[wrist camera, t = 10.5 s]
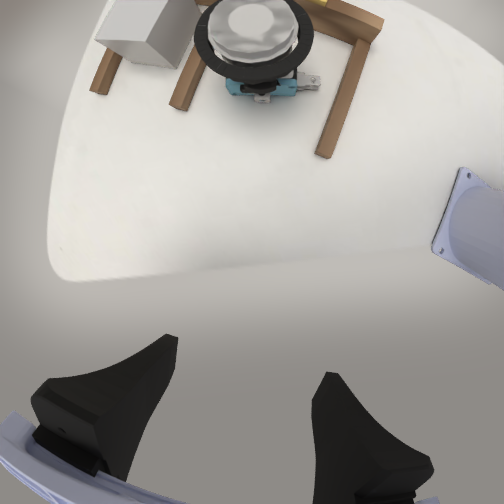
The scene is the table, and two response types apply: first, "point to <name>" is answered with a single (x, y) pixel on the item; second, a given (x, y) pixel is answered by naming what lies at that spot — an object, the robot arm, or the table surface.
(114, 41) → the grey plug block
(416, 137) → the table surface
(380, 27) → the wooden bench frame
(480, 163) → the table surface
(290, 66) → the push button
